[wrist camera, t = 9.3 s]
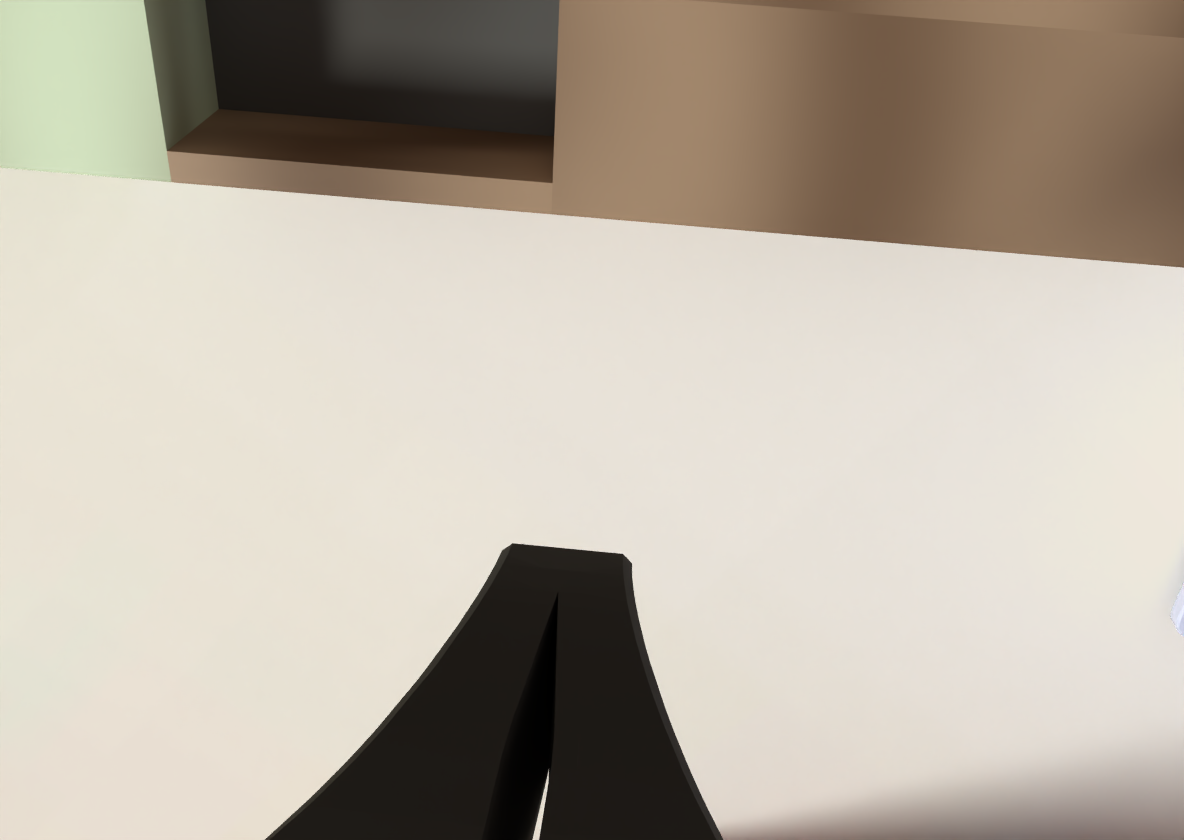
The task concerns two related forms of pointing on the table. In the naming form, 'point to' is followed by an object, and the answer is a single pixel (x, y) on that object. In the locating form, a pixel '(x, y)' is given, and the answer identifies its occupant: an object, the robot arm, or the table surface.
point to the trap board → (637, 110)
